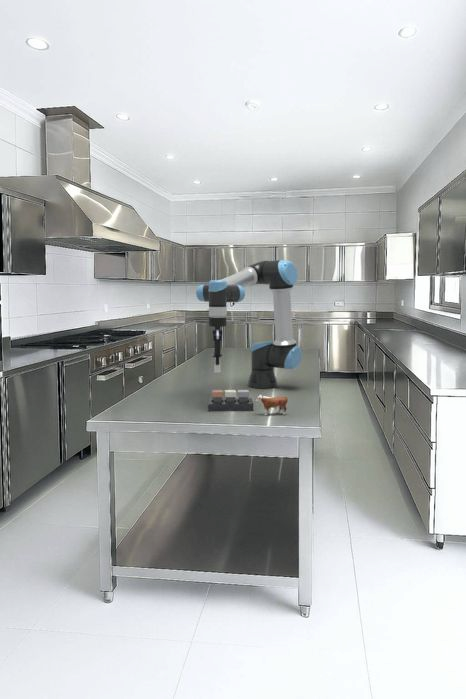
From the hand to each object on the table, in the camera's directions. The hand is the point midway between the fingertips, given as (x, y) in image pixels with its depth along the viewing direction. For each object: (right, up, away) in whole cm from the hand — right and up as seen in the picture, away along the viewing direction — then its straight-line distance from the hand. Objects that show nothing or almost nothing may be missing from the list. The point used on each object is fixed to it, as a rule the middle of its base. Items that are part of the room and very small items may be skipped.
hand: (217, 372), depth 236 cm
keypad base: (+6, -16, +2) cm, 17 cm away
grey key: (+11, -13, +2) cm, 17 cm away
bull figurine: (+23, -17, -9) cm, 30 cm away
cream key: (+6, -13, +2) cm, 15 cm away
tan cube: (0, -13, +2) cm, 14 cm away
